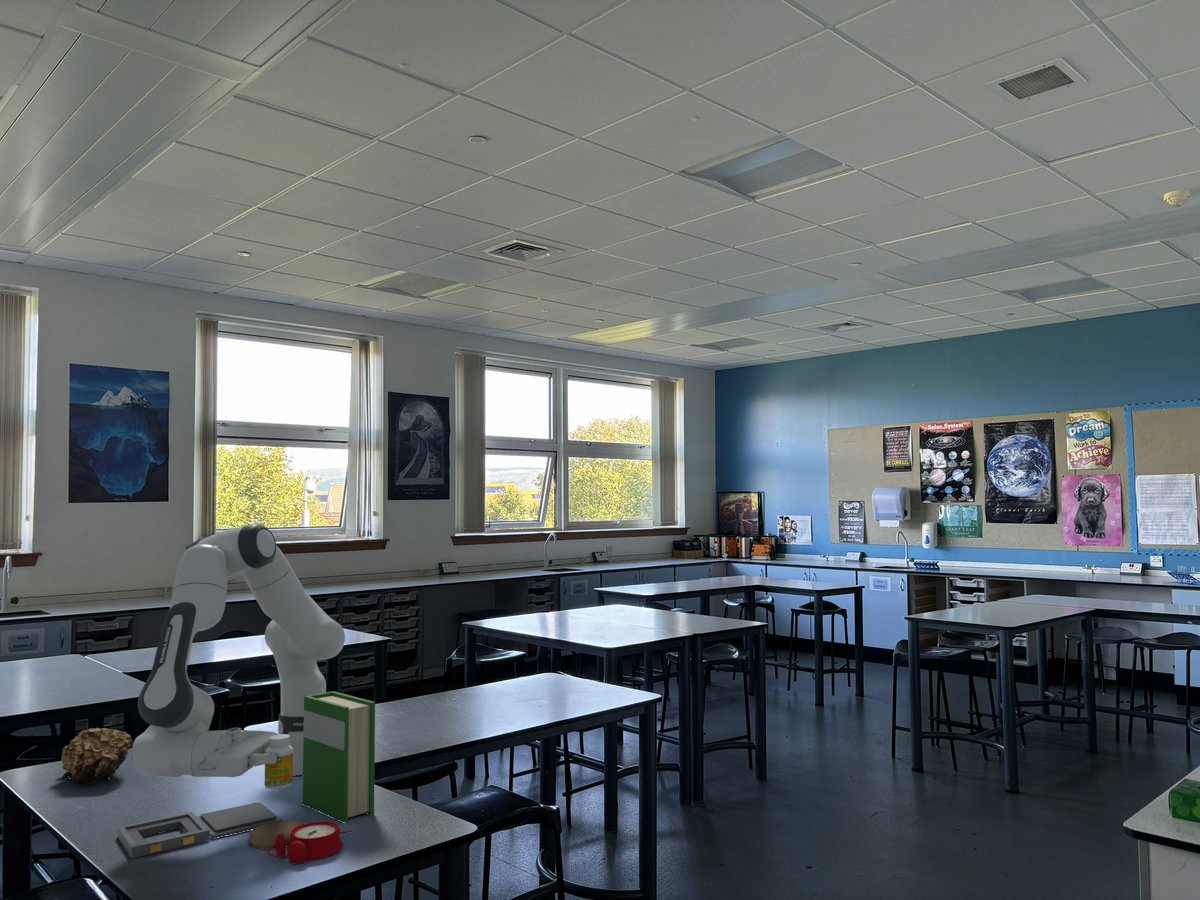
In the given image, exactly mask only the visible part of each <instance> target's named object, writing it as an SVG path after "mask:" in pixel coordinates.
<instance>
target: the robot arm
mask: <svg viewBox="0 0 1200 900" xmlns="http://www.w3.org/2000/svg"><path fill="white" fill-rule="evenodd" d="M276 541H277V540H276V537H275V536H274V533H272V531H271V530H270V529H269V528H268V527H266V526H264V525H263V524H259V523H257V524H256V523H255V524H254V523H253V524H247V525H246V524H245V525H244V526H238V527H234V528H229V529H225V530H222V531H220V532H217V533H216V534H212V535H209V536H207V537H202V538H199V539H196V540H195V541H194V542H192V543H191V544H189V546H187V548H186V549H185V551H184V552H183V554H182V555H181V558H180V561H179V564H178V567H177V570H176V573H175V577H174V583H173V587H172V595H171V596H172V597H171V600H170V605H169V609H168V611H167V613H166V614H165V618H164V620H163V623H162V626H161V631H160V635H159V638H158V643H157V646H156V652H155V655H154V659H153V664H152V668H151V671H150V674H149V676H148V677H147V680H146V682H145V683H144V685H143V686H142V689H141V691H140V693H139V696H138V700H137V710H138V713H139V716H140V717H141V719H142V720H143V721H144V722H145V723H146V724H149V726H148V727H147V728H146V729H145V731H144V732H142V733H141V734H140V735H139V734H138V736H136V738H135V739H134V741H133V742H132V747H131V760H132V763H133V765H134V768H135V769H136V770H137V771H138V772H139V773H141V774H142V775H145V776H151V777H161V778H179V777H182V776H191V777H194V778H202V777H203V778H208V777H209V778H224V777H225V778H236V777H240V776H243V775H244V774H245V773H247V772H248V771H249V770H251V769H252V768H253V767H257V766H265V764H274V763H276V762H277V761H278V759H279V758H278V756H279V754H278V753H269V754H265V752H266V750H267V749H268V748H269V747H270V745H269V737H271V736H273V735H279V734H286V735H290V743H289V745H290V746H291V747H292V748H293V777H295V776H296V775H303V739H304V696H310V695H315V694H321V693H327V681H326V679H325V676H324V675H323V674H322V672H321V671H320V669H319V667H318V663H317V661H322V660H324V661H325V660H328V659H333V658H334V657H336V656H338V654H340V653H341V651H342V650H343V649H344V645H345V640H346V634H345V630H344V628H343V626H342V625H341V624H340V623H338V622H337V621H336V620H334V619H333V618H331V617H330V616H329V614H327V613H326V612H325V611H324V610H323V609H322V608H321V607H320V606H319V604H318V603H317V602H316V601H315V600H314V599H313V598H312V597H311V596H310V595H309V593H308V592H307V591H306V590H305V587H304V586H303V585H302V583H301V581H300V580H299V578H298V577H297V575H296V573H295V571H294V569H293V567H292V566H291V564H290V562H289V561H288V559H287V557H286V556H285V554H284V553H283V551H282V550H281V549H280V548H279V547H278V545H277V542H276ZM240 574H241V575H242V577H243V580H244V581H245V583H246V585H247V587H248V588H249V590H250V591H251V593H252V595H253V597H254V599H255V600H256V602H257V604H258V605H259V607H260V609H261V610H262V612H263V613H264V614H265V615H266V616H267V617H269V618H270V619H271V621H270V622H269V623H268V624H267V626H266V629H265V631H264V640H265V641H264V642H265V644H266V645H267V647H268V648H269V650H270V652H271V653H272V655H273V658H274V661H275V665H276V669H277V671H278V676H279V683H280V713H279V714H278V722H277V725H278V726H277V732H278V733H277V732H274V731H270V730H269V731H268V730H251V729H249V730H248V729H247V730H242V728H241V727H231V728H228V729H224V730H210V728H211V725H212V721H213V718H214V715H215V711H216V710H215V708H216V706H215V702H214V699H213V698H212V696H211V695H210V694H209V693H208V692H206V691H205V690H203V689H202V688H200V687H198V686H196V685H194V684H193V683H192V682H191V680H190V679H189V676H188V672H187V669H188V664H189V660H190V655H191V650H192V645H193V641H194V637H195V636H196V634H197V633H198V632H202V631H206V630H209V629H211V628H213V627H215V625H217V624H218V623H219V622H221V620H222V617H223V614H224V612H225V608H226V603H227V593H228V592H227V591H228V578H233V577H236V576H237V577H238V576H239V575H240Z"/></svg>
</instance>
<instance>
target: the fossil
mask: <svg viewBox="0 0 1200 900" xmlns="http://www.w3.org/2000/svg"><path fill="white" fill-rule="evenodd" d="M131 737H132V736H131V735H130V734H128V733H127V732H125V731H122V730H121V731H120V730H118V729H109V728H106V727H103V728H99V727H96V728H94V727H91V728H88V729H85V730H84V729H83V730H81V731H80V732H79V733H78V735H76V736H75V737H74V738H73V739H71V740H69V744H68V745H65V746H64V747H63V748H62V750H61V751H62V752H61V753H62V754H61V762H62V764H63V765H62V767H61V768H62V769H63V770H64V771H65V773H63V776H64V777H67V776H69V778H71V779H72V780H71V781H72V783H73V784H74V786H82V785H84V786H85V785H90V784H98V783H102V781H106V782H108V781H109V779H108V778H109V776H110V777H111V775H112V774H113V773H114V772H116V771H117V770H118V769H119V768H120V766H121V765H122V764H123V763H124V762H125V760H126V759H127V756H128V754H129V750H130V749H132V747H133V740H132V738H131ZM69 778H68V779H69Z"/></svg>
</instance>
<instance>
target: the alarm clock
mask: <svg viewBox="0 0 1200 900" xmlns="http://www.w3.org/2000/svg"><path fill="white" fill-rule="evenodd" d="M348 833H353V830H352V829H351V830H348V831H346V830H345V831H341V827H340V825H339V824H338V823H337V822H333V821H325V820H324V821H312V822H308V823H304V824H303V825H300V826H298V827H296V828H294V829H293V830H292V831H291V834H290V844H289V846H287V847H285V838H284V834H283V833H281V834H279V835H278V836H277V837H276V840H275V845H274V846H272V848H270V849H267V851H266V853H267V854H268V855H269V856H271V857H274V858H283V857H287V859H288V862H290V863H291V864H293V863H295V864H294V865H301V864H304V863H305V862H306V861H314V859H316V860H320V858H321V859H325V858H328V857H331V855H332V856H334V855H335V853H336V854H337V852H338V851H339V852H341V850H343V848H342V847H344V843H343V840H342V838H341V836H340V835H341V834H342V835H343V834H348ZM274 848H275V849H274ZM273 849H274V850H275V854H276V855H275V854H272V853H270V851H271V850H273ZM339 852H338V853H339ZM333 854H334V855H333ZM300 863H301V864H300Z"/></svg>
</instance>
